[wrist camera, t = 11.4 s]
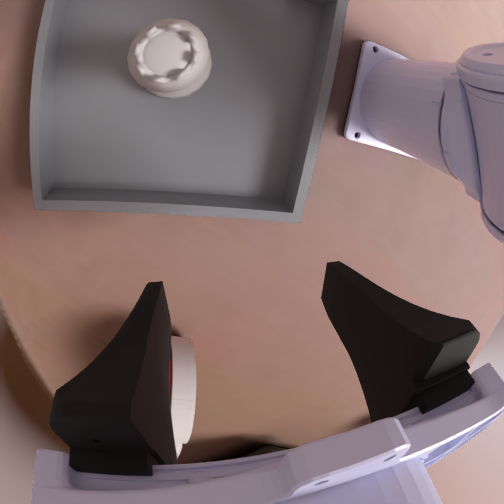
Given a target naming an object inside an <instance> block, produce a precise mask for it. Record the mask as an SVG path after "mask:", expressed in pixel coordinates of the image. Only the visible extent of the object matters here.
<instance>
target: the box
mask: <svg viewBox="0 0 504 504" xmlns="http://www.w3.org/2000/svg"><path fill="white" fill-rule="evenodd" d="M347 5H348V0H45V4H44V8H43V13H42V17H41V22H40V27H39V32H38V38H37V44H36V50H35V57H34V65H33V74H32V85H31V100H30V166H31V181H32V192H33V202H34V210H63V211H100V212H128V213H151V214H171V215H189V216H206V217H222V218H237V219H251V220H264V221H277V222H289V223H300V222H301V218H302V214H303V210H304V206H305V202H306V198H307V194H308V190H309V186H310V182H311V178H312V174H313V169H314V165H315V161H316V157H317V152H318V148H319V144H320V139H321V135H322V131H323V126H324V122H325V117H326V113H327V108H328V103H329V99H330V94H331V89H332V84H333V79H334V75H335V70H336V65H337V60H338V54H339V49H340V44H341V39H342V33H343V28H344V22H345V17H346V11H347ZM167 18H175V19H182V20H187V21H188V22H190V23H192V24H193V25H195V26H197V27H199V29H200V30H201V31H202V33H203V34H204V36H205V37H206V39H207V42H208V48H209V49H210V51H211V58H212V64H213V65H212V68H211V72H210V76H209V78H208V80H207V81H206V82H205V83H204V85H203V86H202V87H201V89H199V90H198V91H196V92H194V93H193V94H191V95H190V96H188V97H183V98H179V99H174V100H173V99H167V98H160V97H158V96H156V95H155V94H153V93H151V92H150V91H148V90H147V89H146V88H145V87H143V86H141V85H139V84H138V83H137V82H136V80H135V79H134V78H133V76H132V75H131V73H130V72H129V66H128V61H127V56H128V52H129V48H130V44H131V42H132V41H133V39H134V38H135V37H136V35H137V34H138V33H139V31H140V30H142V29H143V28H145V27H146V26H148V25H149V24H151V23H153V22H154V21H158V20H163V19H167Z"/></svg>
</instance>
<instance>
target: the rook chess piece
mask: <svg viewBox="0 0 504 504" xmlns="http://www.w3.org/2000/svg"><path fill="white" fill-rule="evenodd" d="M127 61H128V66H129V72H130V73H131V75H132V76H133V78H134V79H135V80H136V82H137V83H138V84H139V85H141V86H143V87H145V88H146V89H147V90H148V91H150V92H151V93H153V94H155V95H156V96H158V97H160V98H167V99H173V100H174V99H179V98H183V97H188V96H190V95H191V94H193V93H194V92H196V91H198V90H199V89H201V87H202V86H203V85H204V83H205V82H206V81H207V80H208V78H209V76H210V72H211V68H212V65H213V64H212V58H211V51H210V49H209V48H208V42H207V39H206V37H205V36H204V34H203V33H202V31H201V30H200V29H199V27H197V26H195V25H193V24H192V23H190V22H188V21H187V20H182V19H175V18H167V19H163V20H158V21H154V22H153V23H151V24H149V25H148V26H146V27H145V28H143V29H142V30H140V31H139V33H138V34H137V35H136V37H135V38H134V39H133V41H132V42H131V44H130V48H129V52H128V56H127Z"/></svg>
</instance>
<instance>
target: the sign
mask: <svg viewBox="0 0 504 504" xmlns="http://www.w3.org/2000/svg"><path fill="white" fill-rule="evenodd" d="M169 394H170V406H171V416H172V425H173V433H174V440H175V447H176V453H177V459H178V456H179V455H180V452H181V449H182V443H187V442H188V441H189V438H190V436H191V432H192V427H193V421H194V413H195V400H196V360H195V351H194V345H193V342H192V340H191V339H190V338H185V337H177V336H171V353H170V371H169Z"/></svg>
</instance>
